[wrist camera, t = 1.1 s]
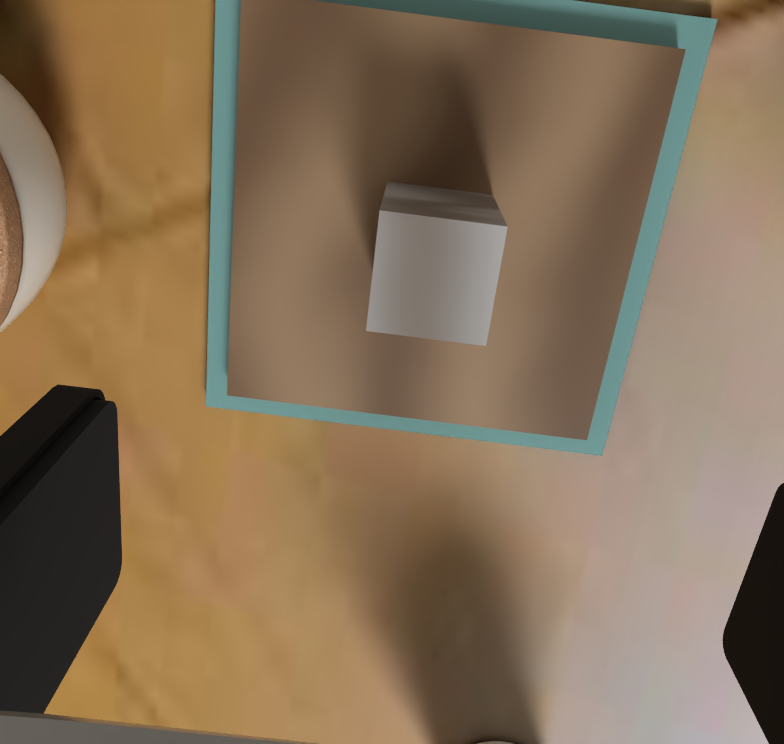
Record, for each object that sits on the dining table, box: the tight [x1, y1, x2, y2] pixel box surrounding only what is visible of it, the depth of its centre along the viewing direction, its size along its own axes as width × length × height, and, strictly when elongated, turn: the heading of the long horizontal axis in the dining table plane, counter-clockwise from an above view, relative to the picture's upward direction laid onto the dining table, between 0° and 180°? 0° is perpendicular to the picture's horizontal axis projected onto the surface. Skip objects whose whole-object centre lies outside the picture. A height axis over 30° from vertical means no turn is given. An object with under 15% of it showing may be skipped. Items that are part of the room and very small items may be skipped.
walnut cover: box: [227, 0, 686, 440], centre depth 24 cm, size 14×14×6 cm
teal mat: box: [206, 0, 717, 456], centre depth 27 cm, size 16×16×1 cm
